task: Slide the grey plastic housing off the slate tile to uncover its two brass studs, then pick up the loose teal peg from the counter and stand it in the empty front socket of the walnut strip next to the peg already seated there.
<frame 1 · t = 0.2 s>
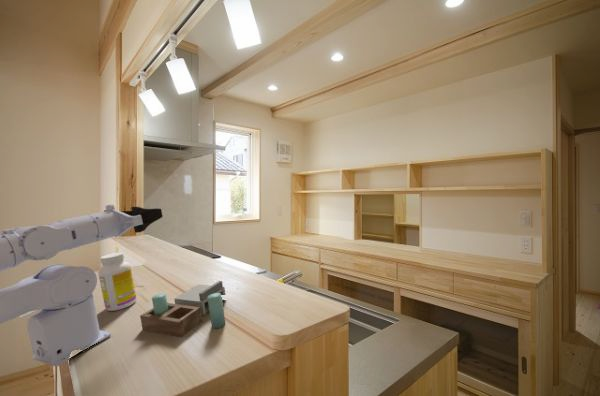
hand: (150, 213, 70), 22 cm above the worktop, tool horizontal, fingers open, 7 cm apart
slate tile: (202, 305, 66), on the worktop
socket strip: (172, 325, 58), on the worktop
pin seated: (163, 323, 59), resting in socket strip
pin loose: (218, 324, 56), on the worktop
supplement bottle: (121, 306, 71), on the worktop
housing: (200, 295, 65), point 2 cm above the worktop, slide at 0.0 cm
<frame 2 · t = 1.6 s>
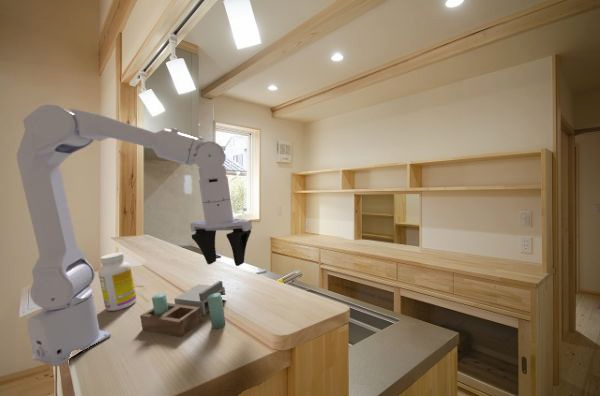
hand: (225, 263, 61), 10 cm above the worktop, tool pointing down, fingers open, 7 cm apart
nothing on the worktop moved.
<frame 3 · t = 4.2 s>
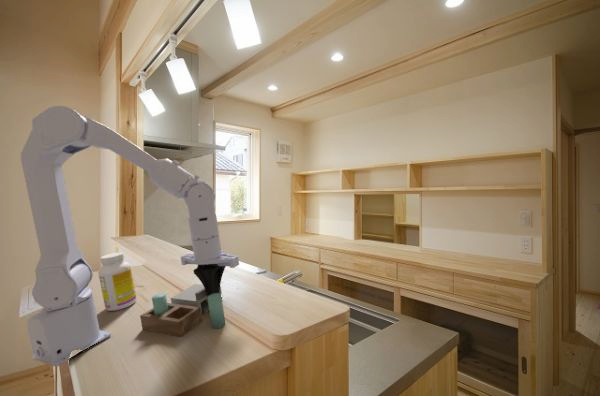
hand: (214, 296, 64), 3 cm above the worktop, tool pointing down, fingers closed
housing: (196, 295, 66), point 3 cm above the worktop, slide at 1.1 cm, touching gripper
everything else where it was.
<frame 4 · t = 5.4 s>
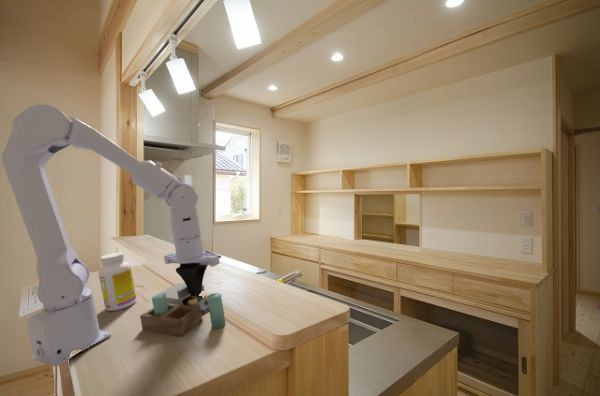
hand: (196, 294, 66), 3 cm above the worktop, tool pointing down, fingers closed
housing: (179, 293, 68), point 2 cm above the worktop, slide at 6.3 cm, touching gripper
everything else where it was.
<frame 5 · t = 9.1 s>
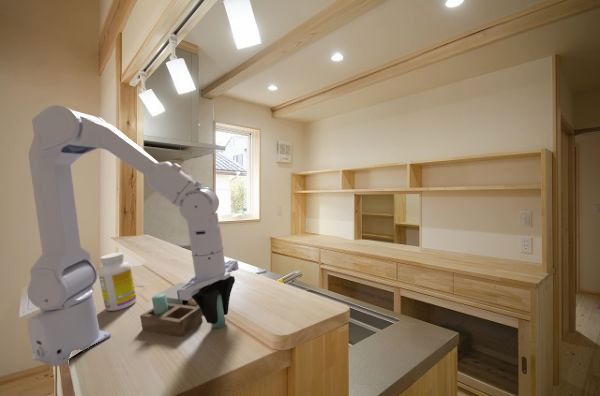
hand: (217, 318, 56), 1 cm above the worktop, tool pointing down, fingers closed on pin loose, 3 cm apart
pin loose: (218, 324, 56), on the worktop, touching gripper
housing: (179, 293, 68), point 3 cm above the worktop, slide at 6.4 cm
everything else where it was.
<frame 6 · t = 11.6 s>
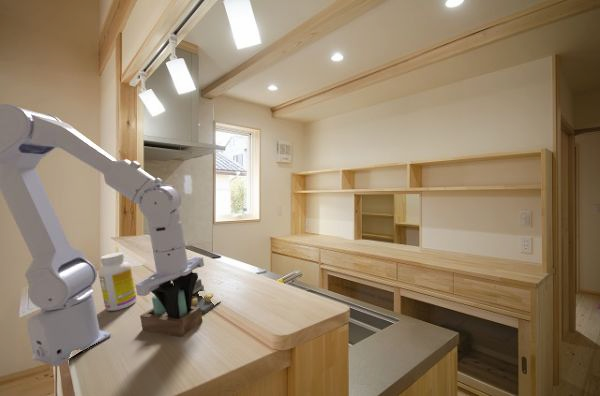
hand: (180, 313, 57), 3 cm above the worktop, tool pointing down, fingers closed on pin loose, socket strip, 2 cm apart
pin loose: (181, 321, 57), point 1 cm above the worktop, touching gripper
everything else where it was.
when the fingers open (3 cm above the worktop, at t = 12.6 s): pin loose drops 1 cm, resting in socket strip.
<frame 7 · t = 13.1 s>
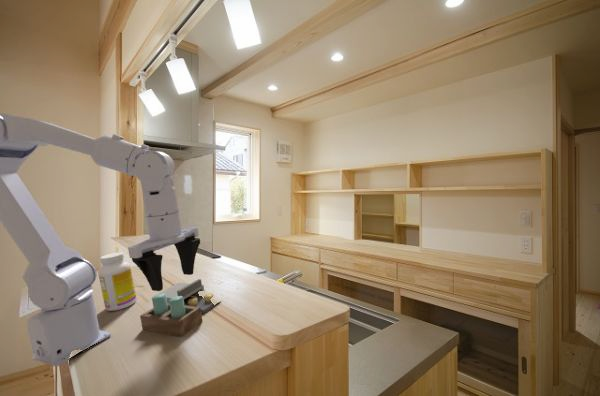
hand: (173, 281, 56), 9 cm above the worktop, tool pointing down, fingers open, 7 cm apart
pin loose: (180, 327, 57), resting in socket strip
everything else where it was.
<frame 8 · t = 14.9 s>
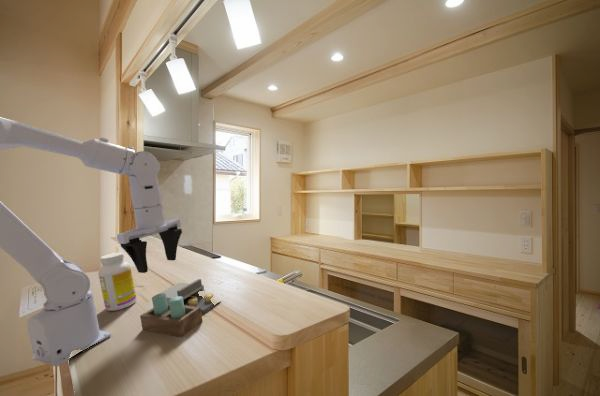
hand: (158, 265, 65), 10 cm above the worktop, tool pointing down, fingers open, 7 cm apart
nothing on the worktop moved.
at the end: housing slide at 6.4 cm; pin loose 0.3 cm from the target spot on the socket strip, point 0.0 cm above the socket strip's base; pin loose tilted 2° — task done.
